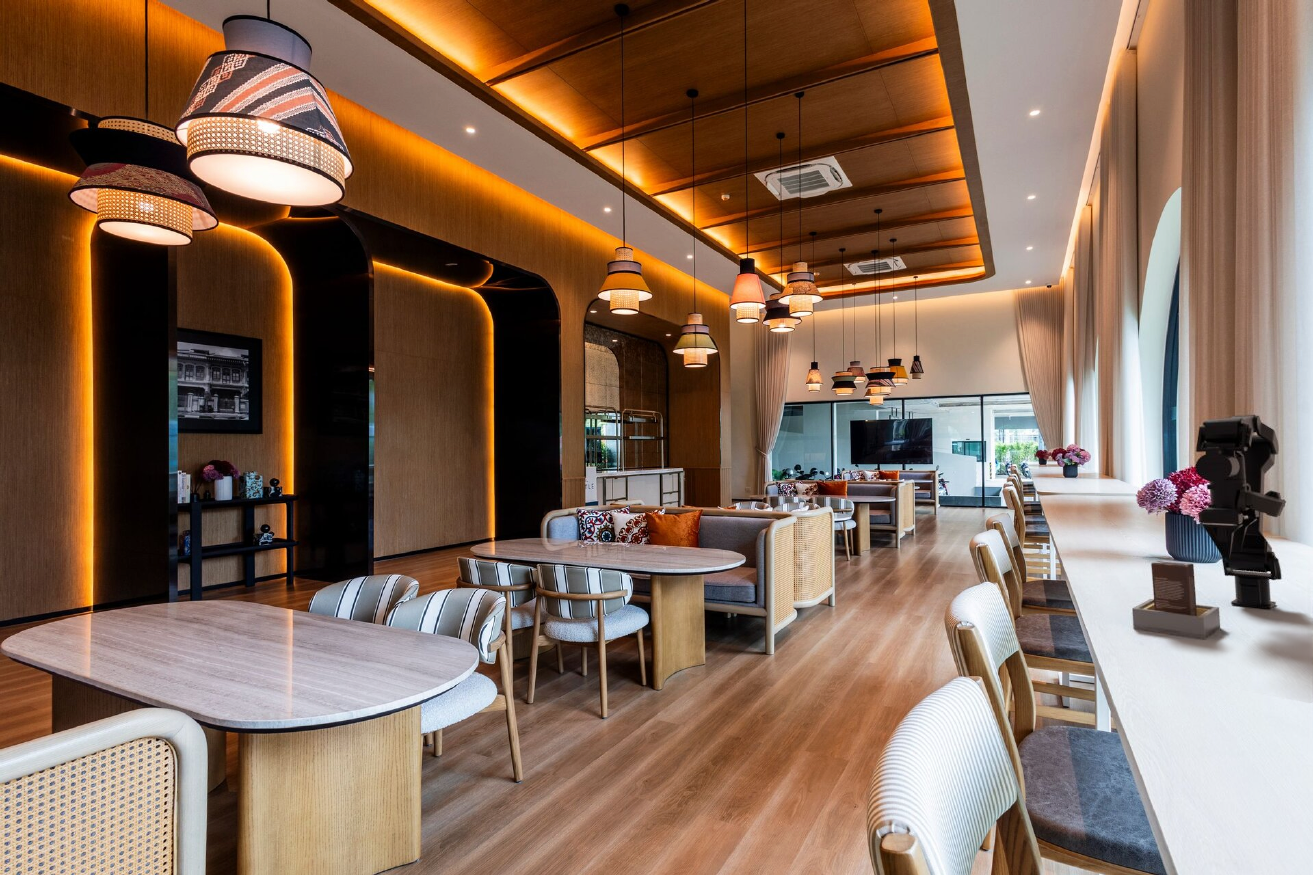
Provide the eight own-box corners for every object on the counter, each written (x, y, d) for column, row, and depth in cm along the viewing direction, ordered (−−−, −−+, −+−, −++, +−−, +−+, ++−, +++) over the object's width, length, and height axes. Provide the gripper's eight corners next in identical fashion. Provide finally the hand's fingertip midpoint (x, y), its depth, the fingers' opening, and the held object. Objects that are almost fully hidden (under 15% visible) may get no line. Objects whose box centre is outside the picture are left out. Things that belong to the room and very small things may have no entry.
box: (1198, 624, 130) (1194, 563, 130) (1191, 628, 127) (1187, 566, 127) (1161, 619, 135) (1157, 559, 135) (1153, 623, 132) (1150, 562, 132)
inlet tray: (1151, 618, 139) (1150, 598, 139) (1220, 627, 130) (1219, 607, 130) (1133, 628, 132) (1132, 608, 132) (1204, 639, 123) (1203, 617, 123)
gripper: (1270, 482, 125) (1275, 565, 124) (1289, 476, 136) (1294, 552, 136) (1195, 481, 133) (1200, 559, 133) (1219, 476, 145) (1224, 548, 145)
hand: (1231, 554), depth 136 cm, fingers open, 9 cm apart
